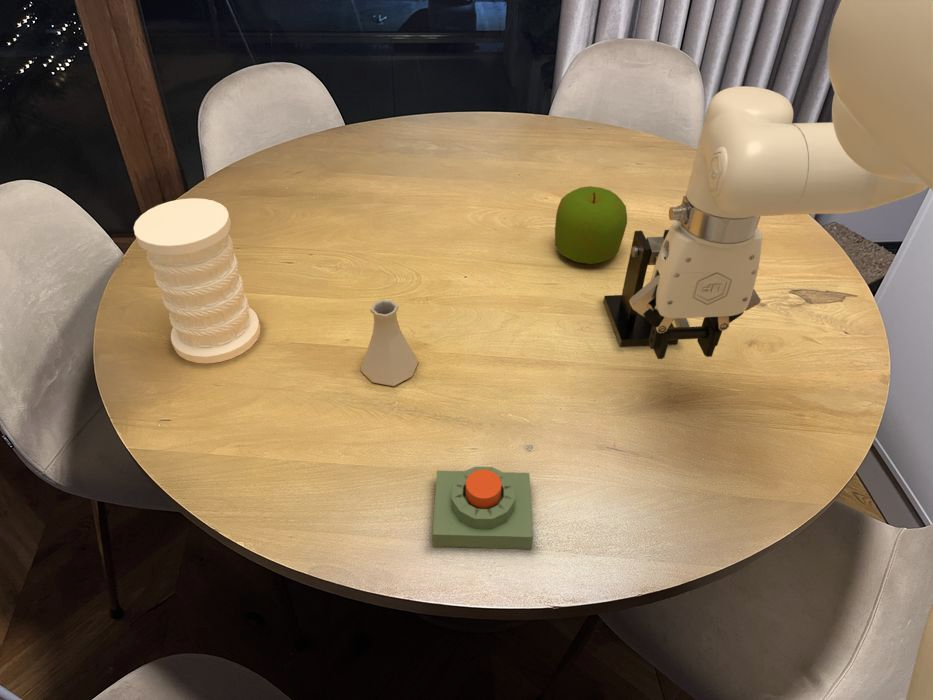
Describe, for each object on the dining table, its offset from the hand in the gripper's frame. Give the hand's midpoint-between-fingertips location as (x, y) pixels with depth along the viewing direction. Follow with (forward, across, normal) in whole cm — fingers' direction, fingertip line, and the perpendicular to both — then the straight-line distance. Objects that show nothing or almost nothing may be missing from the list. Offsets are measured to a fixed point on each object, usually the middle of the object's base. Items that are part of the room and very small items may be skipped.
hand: (681, 349), depth 81 cm
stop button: (+4, -25, -17) cm, 30 cm away
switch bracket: (+7, 0, +14) cm, 16 cm away
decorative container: (+7, -59, +15) cm, 61 cm away
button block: (+7, -25, -16) cm, 31 cm away
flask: (+7, -35, +7) cm, 37 cm away
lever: (-3, 0, +7) cm, 8 cm away
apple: (+7, -4, +32) cm, 33 cm away
